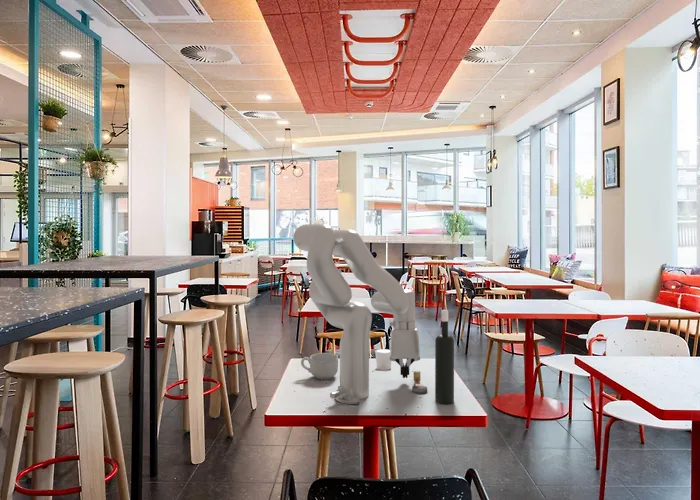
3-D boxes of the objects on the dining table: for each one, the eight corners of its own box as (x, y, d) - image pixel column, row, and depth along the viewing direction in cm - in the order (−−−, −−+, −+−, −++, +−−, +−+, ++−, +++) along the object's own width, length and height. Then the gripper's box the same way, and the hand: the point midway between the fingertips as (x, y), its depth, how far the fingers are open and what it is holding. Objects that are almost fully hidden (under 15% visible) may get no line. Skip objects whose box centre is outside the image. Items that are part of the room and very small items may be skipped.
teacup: (340, 374, 194) (340, 353, 194) (335, 382, 184) (335, 360, 183) (305, 372, 197) (305, 352, 196) (298, 380, 186) (297, 358, 186)
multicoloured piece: (428, 393, 166) (428, 381, 166) (412, 393, 166) (412, 381, 166) (423, 382, 179) (423, 371, 179) (409, 382, 179) (409, 370, 179)
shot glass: (392, 366, 206) (392, 348, 206) (392, 370, 199) (392, 352, 199) (375, 365, 207) (375, 348, 206) (374, 370, 200) (374, 352, 200)
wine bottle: (454, 409, 155) (454, 311, 154) (435, 408, 156) (435, 311, 155) (453, 403, 161) (453, 308, 160) (435, 402, 162) (435, 308, 161)
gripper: (383, 327, 174) (384, 380, 174) (427, 327, 173) (427, 380, 174) (382, 323, 181) (383, 374, 182) (424, 322, 181) (425, 373, 181)
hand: (404, 376), depth 178 cm, fingers closed
